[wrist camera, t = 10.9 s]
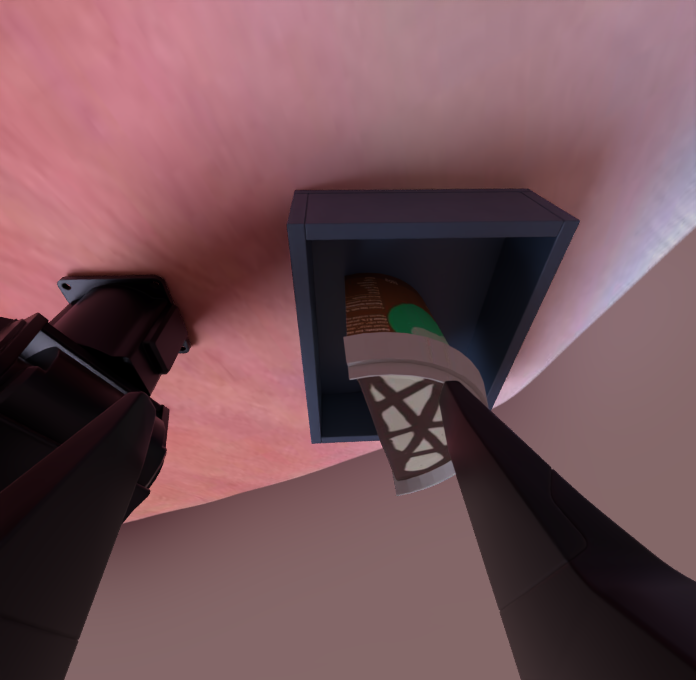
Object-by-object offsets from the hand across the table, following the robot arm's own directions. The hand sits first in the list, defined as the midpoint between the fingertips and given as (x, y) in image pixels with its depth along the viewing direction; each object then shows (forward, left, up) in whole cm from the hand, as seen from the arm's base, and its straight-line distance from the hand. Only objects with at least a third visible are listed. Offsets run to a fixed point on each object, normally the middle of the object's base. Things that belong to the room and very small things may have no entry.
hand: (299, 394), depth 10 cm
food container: (+6, -7, -13) cm, 15 cm away
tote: (+6, -7, -13) cm, 16 cm away
